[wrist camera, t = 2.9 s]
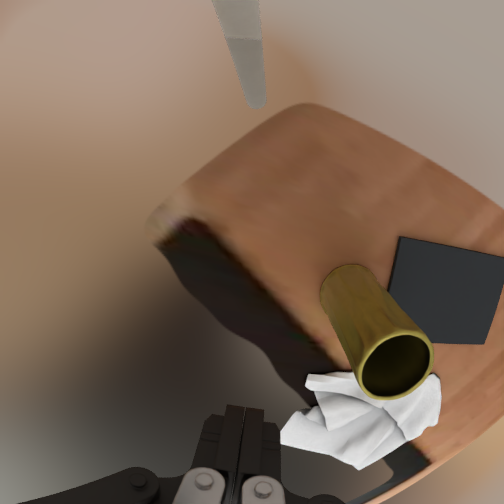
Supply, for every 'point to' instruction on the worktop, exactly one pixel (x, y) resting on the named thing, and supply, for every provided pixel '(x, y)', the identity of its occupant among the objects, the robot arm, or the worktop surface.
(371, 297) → the vase
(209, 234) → the worktop surface
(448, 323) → the mat
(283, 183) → the worktop surface
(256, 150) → the worktop surface
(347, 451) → the cloth
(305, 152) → the worktop surface
